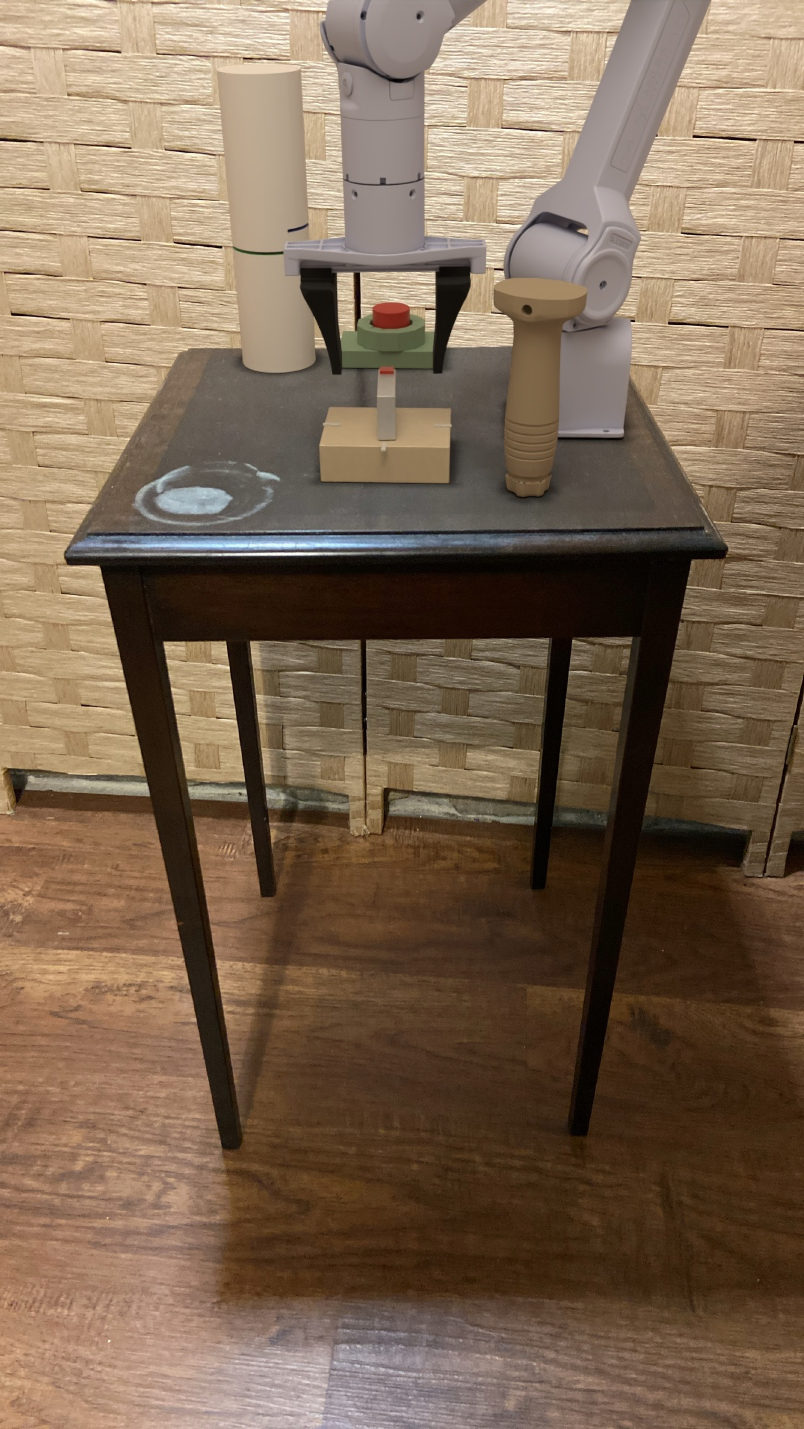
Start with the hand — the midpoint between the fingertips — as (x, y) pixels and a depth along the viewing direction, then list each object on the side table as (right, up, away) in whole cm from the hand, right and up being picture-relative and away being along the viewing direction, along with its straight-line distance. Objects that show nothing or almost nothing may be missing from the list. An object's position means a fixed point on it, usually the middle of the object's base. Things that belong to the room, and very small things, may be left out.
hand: (387, 369), depth 86 cm
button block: (0, +9, +25) cm, 26 cm away
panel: (0, -6, +4) cm, 7 cm away
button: (0, +11, +23) cm, 25 cm away
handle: (+11, -9, 0) cm, 14 cm away
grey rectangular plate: (0, -4, +3) cm, 4 cm away
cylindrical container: (-11, +8, +24) cm, 28 cm away
